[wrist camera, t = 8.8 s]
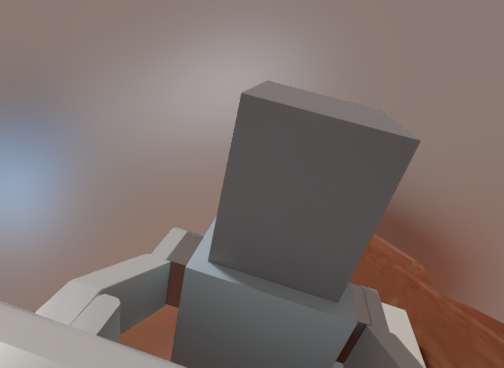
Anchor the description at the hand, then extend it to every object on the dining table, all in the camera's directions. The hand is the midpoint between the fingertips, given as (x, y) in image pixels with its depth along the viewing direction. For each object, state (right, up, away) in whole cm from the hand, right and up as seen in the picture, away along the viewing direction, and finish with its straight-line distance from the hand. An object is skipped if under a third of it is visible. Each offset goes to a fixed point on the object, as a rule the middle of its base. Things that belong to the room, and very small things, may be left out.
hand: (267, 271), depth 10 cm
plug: (-2, -7, +3) cm, 8 cm away
